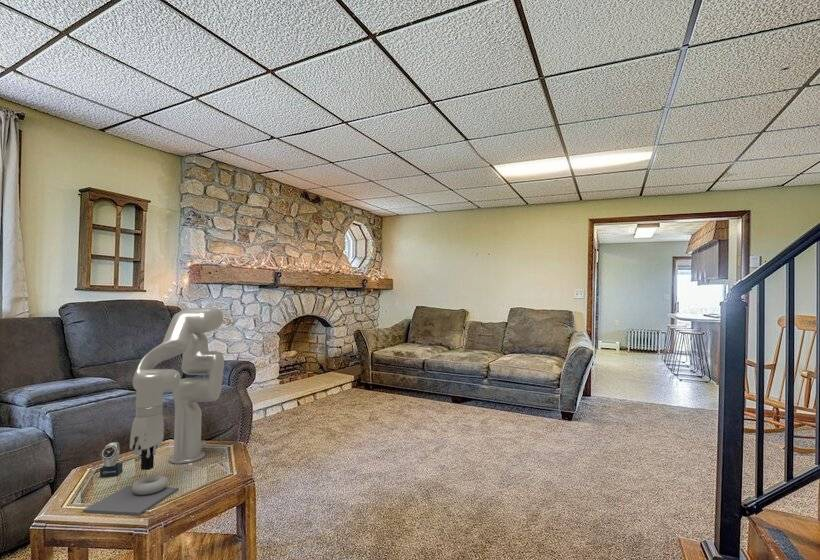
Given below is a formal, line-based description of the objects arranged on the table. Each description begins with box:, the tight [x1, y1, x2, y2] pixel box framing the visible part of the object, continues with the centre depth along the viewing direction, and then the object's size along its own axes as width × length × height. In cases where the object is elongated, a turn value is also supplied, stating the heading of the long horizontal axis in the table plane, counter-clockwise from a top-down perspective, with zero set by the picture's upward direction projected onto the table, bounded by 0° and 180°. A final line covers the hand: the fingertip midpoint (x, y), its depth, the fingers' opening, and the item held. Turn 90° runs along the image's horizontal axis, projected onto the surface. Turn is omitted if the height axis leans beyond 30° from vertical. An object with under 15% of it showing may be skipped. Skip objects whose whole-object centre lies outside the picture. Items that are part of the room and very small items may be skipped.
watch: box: [99, 441, 124, 478], centre depth 152 cm, size 6×8×11 cm
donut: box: [131, 474, 169, 495], centre depth 136 cm, size 10×4×10 cm
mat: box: [82, 485, 179, 516], centre depth 130 cm, size 17×18×1 cm
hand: (147, 468), depth 136 cm, fingers closed
